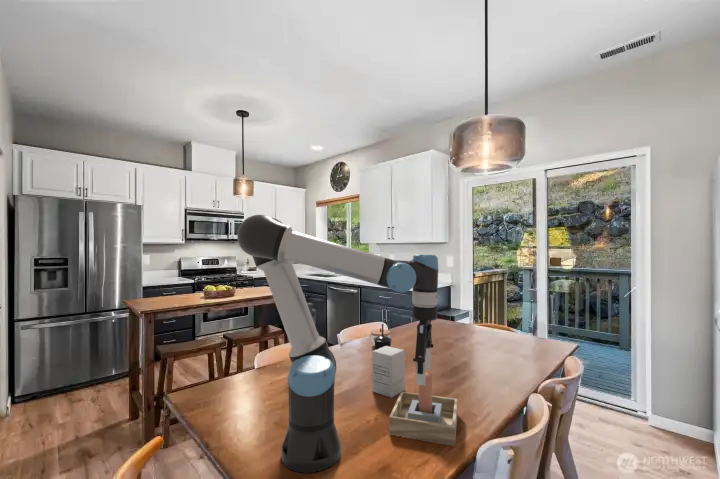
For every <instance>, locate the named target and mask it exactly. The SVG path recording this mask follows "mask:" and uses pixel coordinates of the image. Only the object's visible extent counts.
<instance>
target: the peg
mask: <svg viewBox="0 0 720 479" xmlns="http://www.w3.org/2000/svg"><path fill="white" fill-rule="evenodd" d="M417 387H418V394H419V412H425V413H432V396H433V374H432V373H430V372H427V371H426V380H425V386H424V385H417Z"/></svg>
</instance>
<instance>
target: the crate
mask: <svg viewBox="0 0 720 479" xmlns="http://www.w3.org/2000/svg"><path fill="white" fill-rule="evenodd" d="M412 400H419V393H418V392H417V393H415V392H407V391H402V392H400V393H399V396H398V398H397V400H396V402H395V404H394V407H393V408H392V409H391V410H392V411H391V413H390V414H389V419H388V426H389V427H388V428H389V430H388V435H389V436H393V435H397V436H396V437H399V436H402V437H401V438H405V437H407V438H406V439H411V438H412V439H411V440H416V439H417V440H418V441H423V442H428V443H435V444H440V445H445V446H446V445H447V446H452V447H455V446H456V439H457V438H456V437H457V424H458V398H455V397H446V396H438V395H432V402H433V403H441V404H442V419H441V424H440V423H434V422H427V421H421V420H414V419H408V411H409V408H410V406H411V403H412Z"/></svg>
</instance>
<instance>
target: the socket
mask: <svg viewBox="0 0 720 479" xmlns="http://www.w3.org/2000/svg"><path fill="white" fill-rule="evenodd" d="M408 419H414V420H421V421H427V422H434V423H440V424H441V419H442V404H441V403H433V402H432V413H425V412H419V400H412V403H411V406H410V408H409V411H408Z"/></svg>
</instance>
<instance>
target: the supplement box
mask: <svg viewBox="0 0 720 479" xmlns="http://www.w3.org/2000/svg"><path fill="white" fill-rule="evenodd" d="M371 353H372V354H371V356H372V359H371V361H372V362H371V366H372V369H371V370H372V374H371V375H372V378H371V380H372V381H371V382H372V383H371V384H372V390H371V391H372V392H373V393H377V394H380V395H383V396H386V397H389V398H391V399H392V398H394V397H395V396H397V395H400V393H401V392H404V391H405V390H406V388H405V387H406V383H405V382H406V380H405V378H406V377H405V375H406V372H405V371H406V370H405V369H406V368H405V367H406V366H405V350H404V349H402V348H398V347H397V348H396V347H394V346H393V347H392V346H390V347H389V346H384V347H382V348H379V349H377V350H372V351H371Z"/></svg>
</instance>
